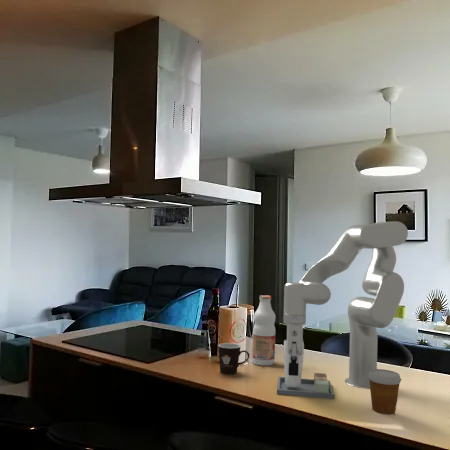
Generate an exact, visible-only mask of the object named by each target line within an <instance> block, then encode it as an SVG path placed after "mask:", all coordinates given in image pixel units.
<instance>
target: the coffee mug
mask: <svg viewBox="0 0 450 450" xmlns="http://www.w3.org/2000/svg"><path fill="white" fill-rule="evenodd" d="M217 347H218V349H217V350H218V358H219V359H218V360H219V363H218V364H219V372H220V373H221V374H223V375H235V374H237V373H238V367H240V365H243V364H244V363H246V362H247V361H249V359H250V353H249V351H247V350H245V349H244V350H243V349H242V350H241V347H242V346H241V345H240V344H237V343H232V342H231V343H230V342H225V343H220V344H218V346H217ZM242 353H246V354H247V358H246V359H245V360H244V361H242V362H240V363H239V360H240V356H241V354H242Z"/></svg>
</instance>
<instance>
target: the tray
mask: <svg viewBox="0 0 450 450" xmlns="http://www.w3.org/2000/svg"><path fill="white" fill-rule="evenodd" d="M328 383H329V393H320V392H315V388H314V378H313V379H312V378H302V377H301V386H300V387H297V388H291V387H288V386H286V385H285V376H278V377H277V385H276V395H281V396H284V395H285V396H291V397H292V396H295V397H304V398H316V399H318V398H319V399H326V400H327V399H328V400H333V399H334V398H335V394H334V390H333V387H332V383H331V380H328Z"/></svg>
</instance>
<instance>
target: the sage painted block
mask: <svg viewBox="0 0 450 450" xmlns="http://www.w3.org/2000/svg"><path fill="white" fill-rule="evenodd" d="M328 381H329V380H328ZM328 381H321V380H316V383H315V392H320V393H329V383H328Z"/></svg>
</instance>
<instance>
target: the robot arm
mask: <svg viewBox="0 0 450 450" xmlns="http://www.w3.org/2000/svg"><path fill="white" fill-rule="evenodd" d="M408 236H409V231H408V228H407V226H406V225H405V224H404V223H403V222H400V221H397V220H396V221H381V222H380V221H379V222H374V223H371V224H369V223H368V224H366V223H365V224H353V225H350V226H349V227H347V228H346V229H345V231H344V232H343V233H342V235H340V237H339V239H338V240H337V242H336V243H335V244H334V246H333V247H332V248H331V250H330V251H329V252H328V253H327V254H326V255H325V256H324V257H322V258H321V259H320V260H319V261H317V262H316V263H315V264H313V265H312V266H311V267H310V268H309V269H308V270H307V271H306V272H305V274H304V275H303V277H302V278H301V279H300V280H299V282H298V281H296V282H287V283H285V284H284V287H283V288H284V292H283V293H284V294H283V295H284V296H283V322H282V323H283V324H285V325H286V340H287V349H288V354H290V363H289V375H293V376H298V365H299V363H298V353H299V354H300V355H302V346H303V342H304V338H303V336H304V335H303V334H304V329H303V326H304V325H306V324H307V322H306V321H307V316H306V315H307V304H308V305H309V304H310V305H315V306H321V305H325V304H326V303H328V302H329V300H330V299H331V296H332V294H331V289H330V288H329V287H328V285H326V284H324V282H325V281H326V280H328V279H330V278H331V277H333V276H335V275H338V274H341V273H342V272H344V271H346V270H348V269H349V268H350V267H351V265H352V264H353V262H354V260H355V259H356V258H357V257H358V255H359V254H360V253H361V251H362V250H363V249H370V250H372V255H371V260H370V262H369V265H368V268H367V270H366V272H365V274H364V277H363V280H362V284H361V286H362V287H361V288H362V290H363V291H364V292H365V294H368V296H369V295H370V296H372V297H373V296H374V297H375V298H372V297H367V296H356V297H354V298H353V299H351V300H350V302H349V304H348V307H347V315H348V321H349V357H348V358H349V361H348V363H349V364H348V377H347V378H345V379H344V383H345V384H347V385H348V386H351V387H355V388H360V389H367V390H368V389H370V382H369V377H368V374H369V371H370V370H373V369H378V332H377V329H383V328H387V327H388V326H389V325H390V324H391V323H392V321H393V320H394V318H395V316H396V313H397V310H398V308H399V306H400V303H401V300H402V298H403V295H404V292H405V283H404V280H403V278H402V276H401V275H400V274H399V273H397V272H395V271H394V270H395V267H396V265H397V264H396V263H397V255H396V251H395V249H394V247H395V246H401V245H402V244H404V243H405V242H406V241H407V240H408ZM291 348H292V353H291ZM296 349H297V354H296ZM291 355H292V356H291Z"/></svg>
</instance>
